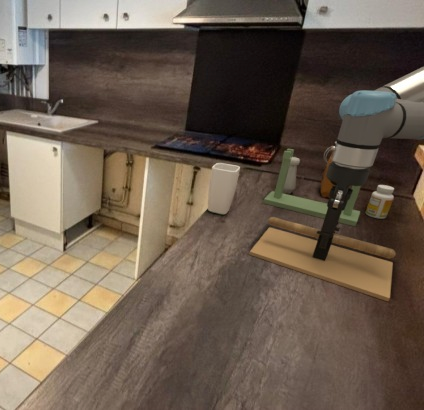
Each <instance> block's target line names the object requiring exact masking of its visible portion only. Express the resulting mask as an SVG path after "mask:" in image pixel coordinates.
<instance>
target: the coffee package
mask: <svg viewBox="0 0 424 410" xmlns="http://www.w3.org/2000/svg"><path fill="white" fill-rule="evenodd" d="M334 152H335V151H332V152H331V155H330V156H329V158H328V159H327V162H328V163H327V162H326V165H325V166H324V169H323V172H322V177H321V182H320V195H321V197H323V198H328V199H329V198H330V196H329V193H330V190H331V188H332V186H333V185H334V186H336V185H337V183H335V182H332V181H330V180H328V179H327V178H326V174H327V170H328V167H329V164H330V163H331V162H333V161H332V159H331V158H332V155H333V153H334ZM351 188H352V186H350V189H351Z"/></svg>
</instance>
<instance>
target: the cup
mask: <svg viewBox="0 0 424 410" xmlns="http://www.w3.org/2000/svg"><path fill="white" fill-rule="evenodd" d="M240 170H241V166H239V165H235V164H229V163H224V162H216V163H215V164H213V166H211V172H210V178H209V184H208V194H207V195H208V196H207V210H208V212H210V213H213V214H217V215H220V216H224V215H226V214H228V212H229V211H230V209H231V206H232V202H233V201H234V196H235V193H236V188H237V185H238V181H239V176H240Z"/></svg>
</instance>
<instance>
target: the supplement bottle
mask: <svg viewBox="0 0 424 410" xmlns="http://www.w3.org/2000/svg"><path fill="white" fill-rule="evenodd" d="M394 190H395V187H393V186H390V185H385V184H378V185H377V186H376V190H375V191H373V192H372V193H371V195H370V199H369V201H368V204H367V206H366V208H365V209H366V210H365V215H367V216H368V217H370V218H374V219H380V220H381V219H382V220H383V219H386V218H387V216H388V214H389V212H390V209H391V206H392V204H393V201H394V198H395V197H394V195H393V193H394V192H395V191H394Z"/></svg>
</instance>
